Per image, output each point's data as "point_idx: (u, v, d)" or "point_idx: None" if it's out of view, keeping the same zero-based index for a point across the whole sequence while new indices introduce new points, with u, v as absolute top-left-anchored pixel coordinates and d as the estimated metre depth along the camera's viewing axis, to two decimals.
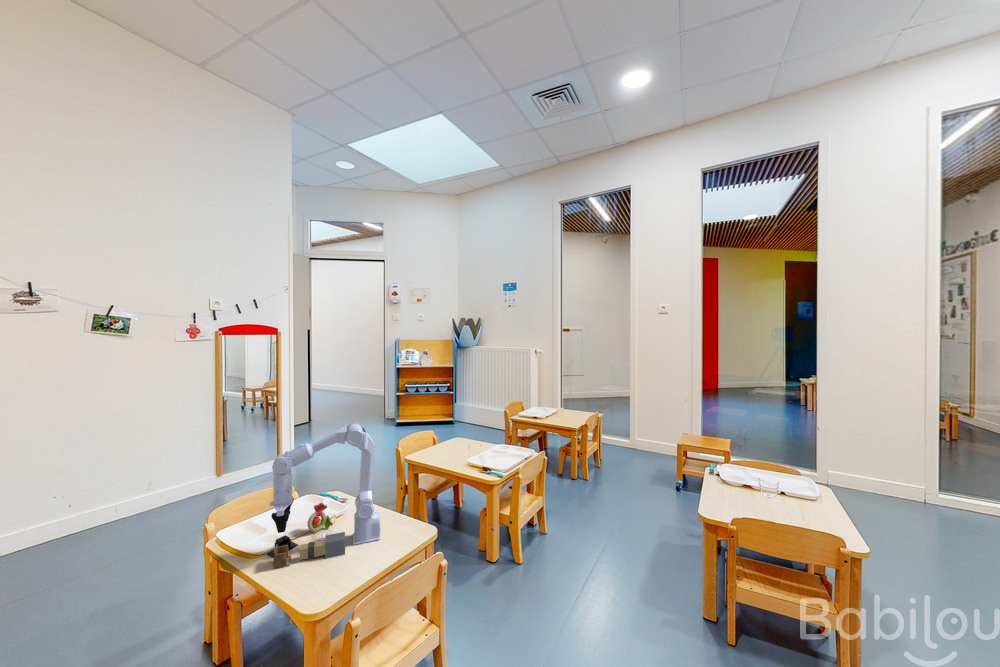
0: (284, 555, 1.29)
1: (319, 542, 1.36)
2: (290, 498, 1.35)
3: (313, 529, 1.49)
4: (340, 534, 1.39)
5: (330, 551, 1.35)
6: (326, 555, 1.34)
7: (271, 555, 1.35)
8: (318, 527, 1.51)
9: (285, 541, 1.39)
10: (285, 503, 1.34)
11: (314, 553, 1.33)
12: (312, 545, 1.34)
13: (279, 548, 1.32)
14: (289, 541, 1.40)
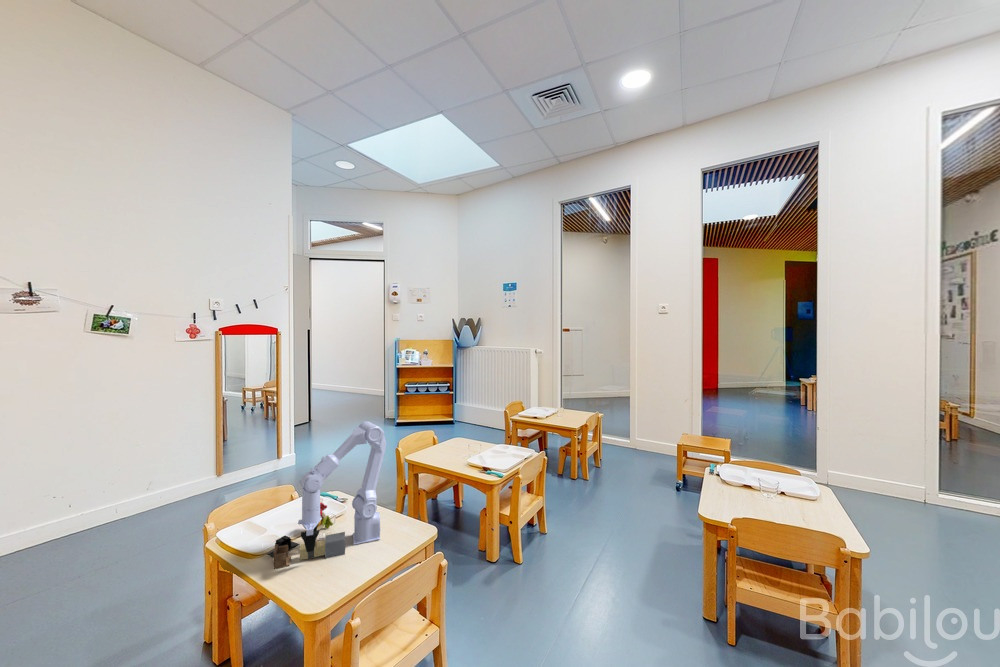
0: (284, 555, 1.29)
1: (319, 542, 1.36)
2: (318, 516, 1.34)
3: None
4: (340, 534, 1.39)
5: (330, 551, 1.35)
6: (326, 555, 1.34)
7: (272, 555, 1.35)
8: (318, 527, 1.51)
9: (285, 541, 1.39)
10: (314, 522, 1.32)
11: (314, 553, 1.33)
12: None
13: (279, 548, 1.32)
14: (289, 541, 1.40)
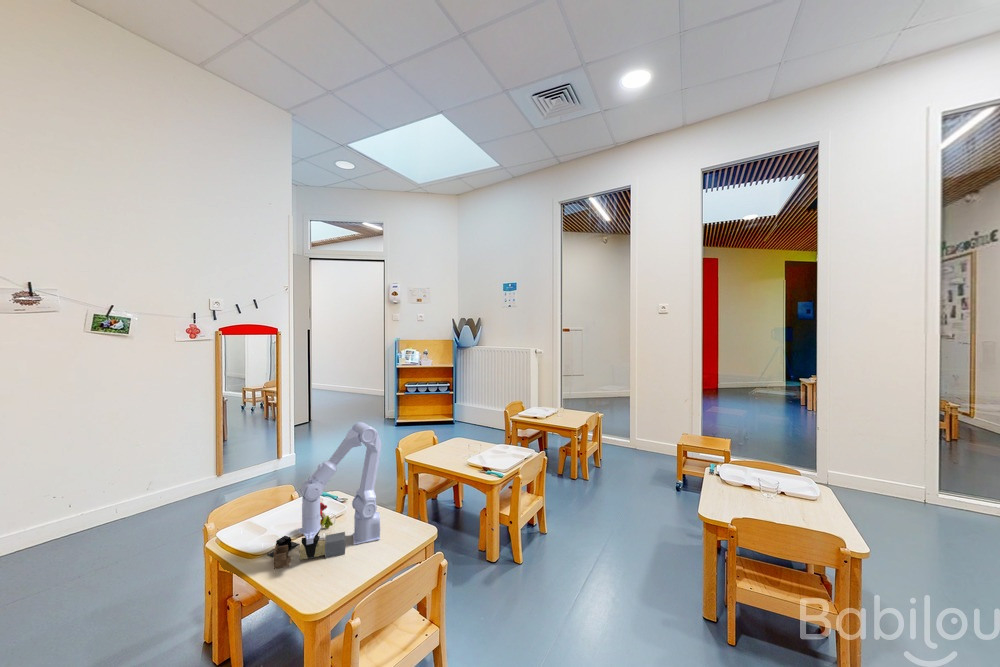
0: (284, 555, 1.29)
1: (319, 542, 1.36)
2: (318, 525, 1.34)
3: None
4: (340, 534, 1.39)
5: (330, 551, 1.35)
6: (326, 555, 1.34)
7: (273, 556, 1.35)
8: None
9: (286, 541, 1.39)
10: (314, 530, 1.32)
11: None
12: None
13: (279, 548, 1.32)
14: (290, 541, 1.40)
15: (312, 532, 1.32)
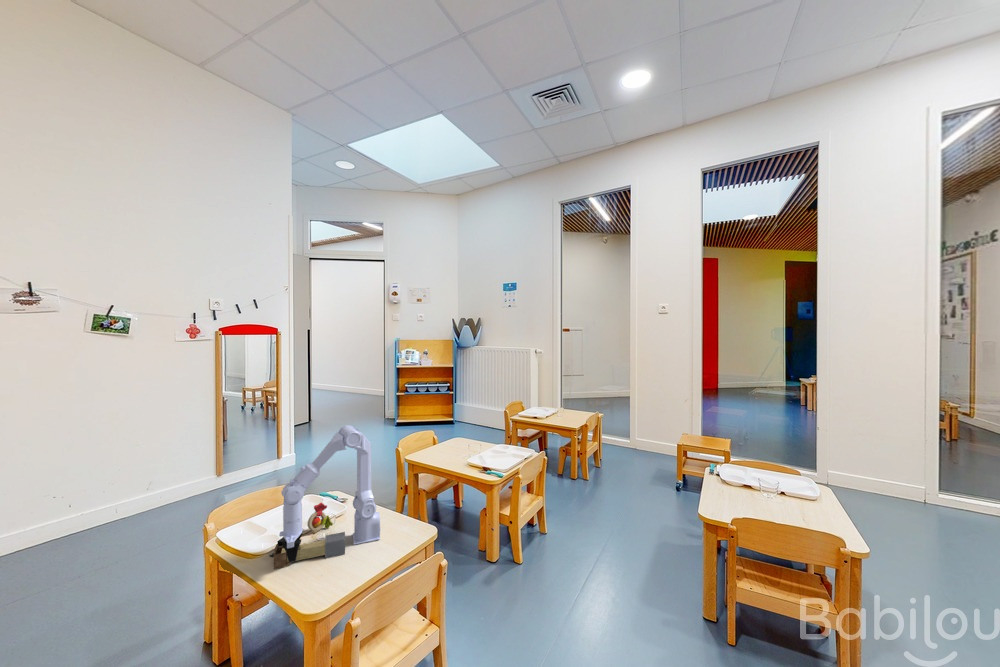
0: (284, 555, 1.29)
1: (302, 545, 1.34)
2: (300, 528, 1.32)
3: (313, 529, 1.49)
4: (340, 534, 1.39)
5: (330, 551, 1.35)
6: (326, 555, 1.34)
7: None
8: (318, 527, 1.51)
9: None
10: (295, 533, 1.30)
11: (296, 557, 1.31)
12: None
13: (279, 548, 1.32)
14: None
15: (293, 535, 1.29)
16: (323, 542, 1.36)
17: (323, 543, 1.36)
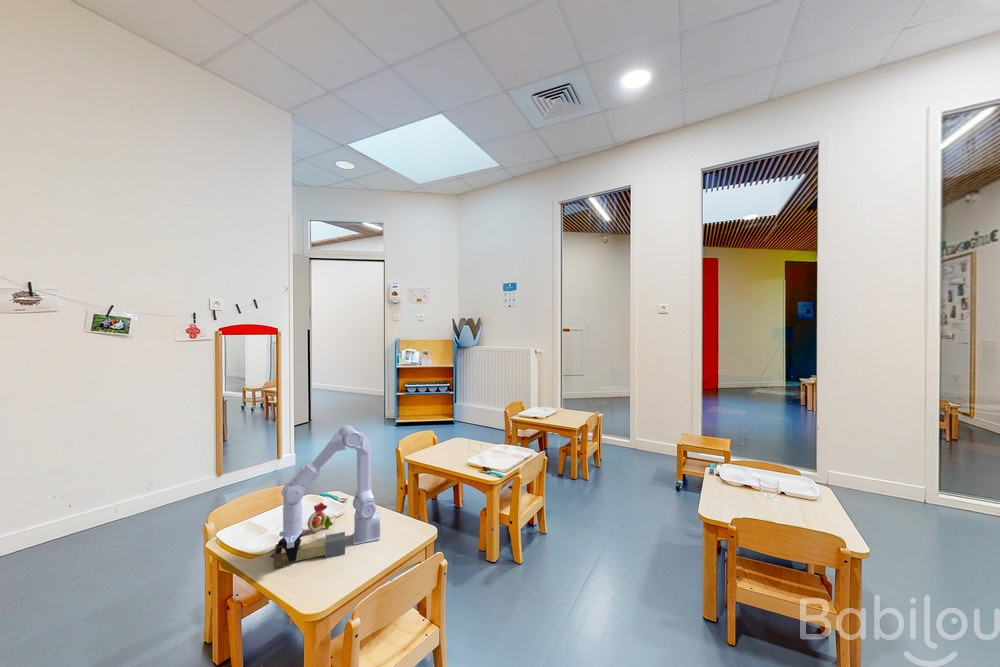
0: (284, 555, 1.29)
1: (302, 545, 1.34)
2: (300, 528, 1.32)
3: (313, 529, 1.49)
4: (340, 534, 1.39)
5: (330, 551, 1.35)
6: (326, 555, 1.34)
7: None
8: (318, 527, 1.51)
9: None
10: (295, 533, 1.30)
11: (296, 557, 1.31)
12: None
13: (279, 548, 1.32)
14: None
15: (293, 535, 1.29)
16: (323, 542, 1.36)
17: (323, 543, 1.36)
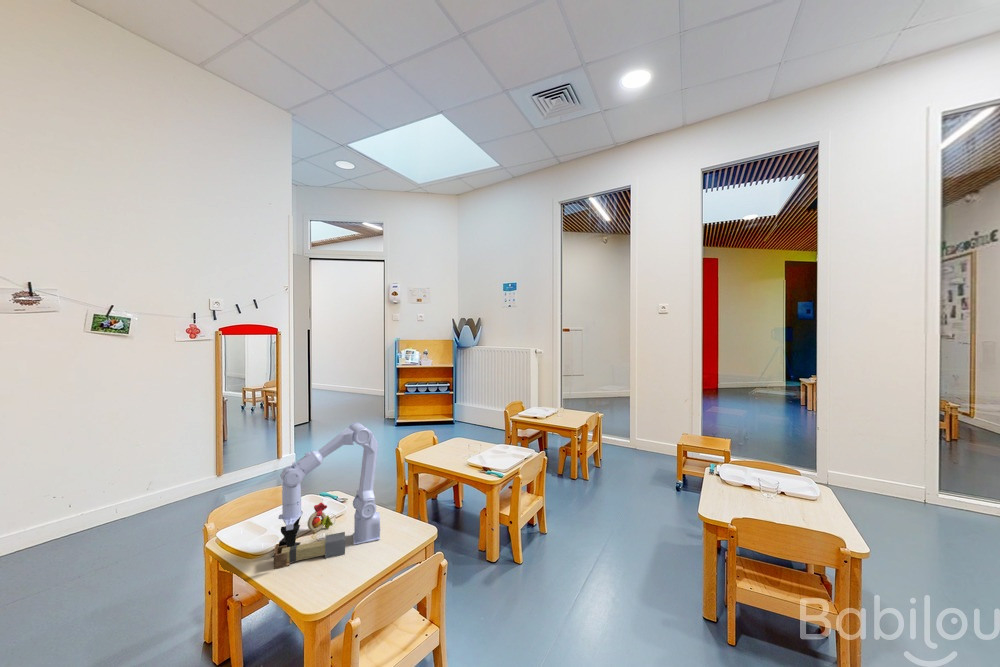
0: (284, 555, 1.29)
1: (302, 545, 1.34)
2: (299, 511, 1.32)
3: (313, 529, 1.49)
4: (340, 534, 1.39)
5: (330, 551, 1.35)
6: (326, 555, 1.34)
7: None
8: (318, 527, 1.51)
9: None
10: (294, 516, 1.30)
11: (296, 557, 1.31)
12: (294, 548, 1.32)
13: (279, 548, 1.32)
14: None
15: (292, 518, 1.29)
16: (323, 542, 1.36)
17: (323, 543, 1.36)
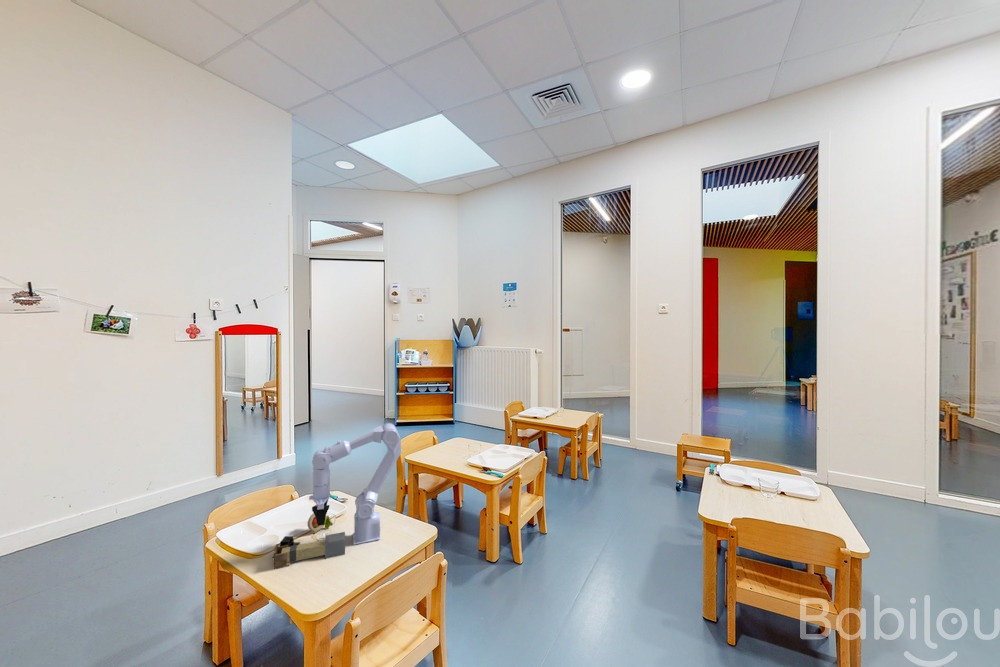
0: (284, 555, 1.29)
1: (302, 545, 1.34)
2: (328, 492, 1.40)
3: (313, 529, 1.49)
4: (340, 534, 1.39)
5: (330, 551, 1.35)
6: (326, 555, 1.34)
7: None
8: (318, 527, 1.51)
9: None
10: (324, 497, 1.39)
11: (296, 557, 1.31)
12: (294, 548, 1.32)
13: (279, 548, 1.32)
14: (293, 540, 1.40)
15: (322, 499, 1.38)
16: (323, 542, 1.36)
17: (323, 543, 1.36)
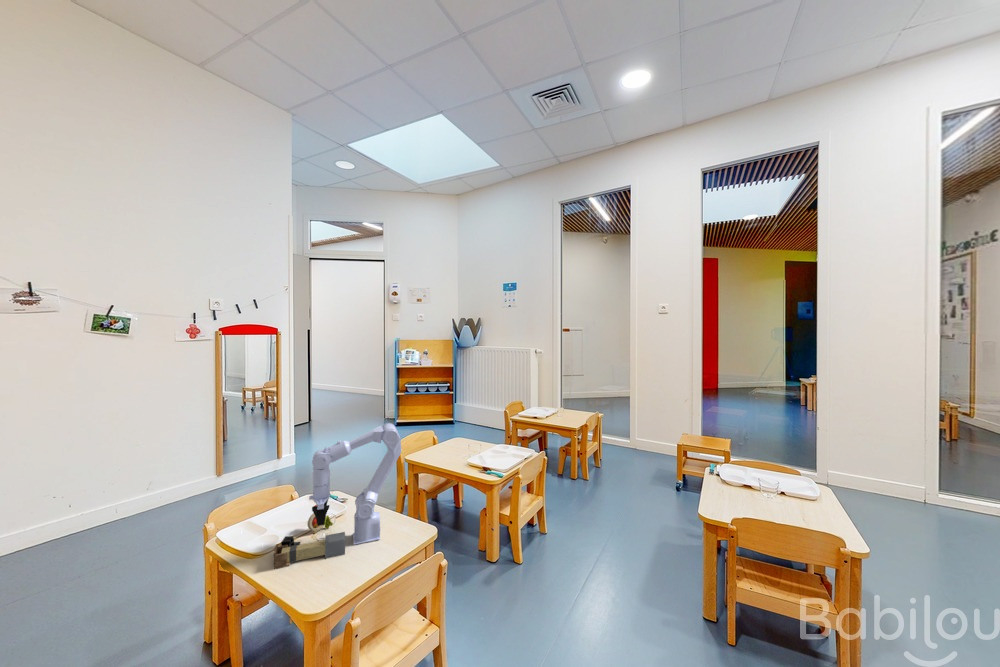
0: (284, 555, 1.29)
1: (302, 545, 1.34)
2: (328, 492, 1.40)
3: (313, 529, 1.49)
4: (340, 534, 1.39)
5: (330, 551, 1.35)
6: (326, 555, 1.34)
7: None
8: (318, 527, 1.51)
9: (289, 541, 1.40)
10: (324, 497, 1.39)
11: (296, 557, 1.31)
12: (294, 548, 1.32)
13: (279, 548, 1.32)
14: (293, 540, 1.41)
15: (322, 499, 1.38)
16: (323, 542, 1.36)
17: (323, 543, 1.36)
